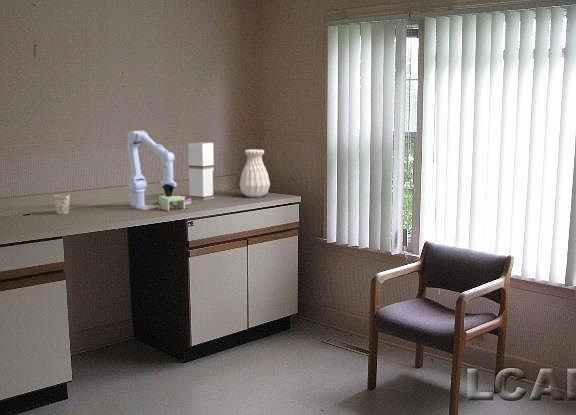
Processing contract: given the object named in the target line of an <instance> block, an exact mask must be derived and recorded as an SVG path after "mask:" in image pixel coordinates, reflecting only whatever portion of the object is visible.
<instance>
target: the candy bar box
mask: <svg viewBox="0 0 576 415" xmlns="http://www.w3.org/2000/svg"><path fill="white" fill-rule="evenodd" d="M181 196H182V197H185V206H187V205H189V204H192V199H191V196H189V195H188V196H187V195H181ZM161 197H166V195H160V196H158V205H161ZM174 205H175V206H177V201H173V206H174Z"/></svg>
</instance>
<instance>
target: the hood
mask: <svg viewBox="0 0 576 415" xmlns="http://www.w3.org/2000/svg"><path fill="white" fill-rule="evenodd" d="M182 196H183V195H172V196H170V197H161V204H160V205H161V209H163V210H168V211H169V202H170V201H177V205H176V206H177V208H182V209H185V208H186V205H185V197H182Z"/></svg>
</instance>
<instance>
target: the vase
mask: <svg viewBox="0 0 576 415" xmlns="http://www.w3.org/2000/svg"><path fill="white" fill-rule="evenodd" d="M244 154H245V155H246V156H247V157H246V158H247V159H246V163H245V165H244V166H243V170H242V171H241V175H240V181H239V188H240V191H241V193H242V194H243V195H244V196H245V197H247V198H263V197H264V196H265V195H267V194H268V193H269V190H270V186H271V182H270V178H269V177H270V176H269V173H268V171H267V168H266V166H265V164H264V162H263V155H264V154H265V150H264V149H256V148H255V149H245V150H244Z"/></svg>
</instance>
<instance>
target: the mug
mask: <svg viewBox="0 0 576 415" xmlns="http://www.w3.org/2000/svg"><path fill="white" fill-rule="evenodd" d="M70 196H71V195H70V194H69V193H58V194H54V195H53V199H54V201H53V202H54V207H55V211H56V214H57V215H66V214H69V211H70V210H69V209H70V200H71V199H70Z"/></svg>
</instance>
